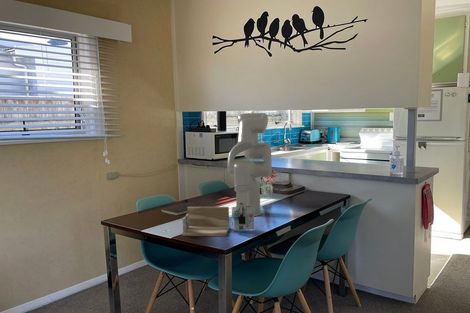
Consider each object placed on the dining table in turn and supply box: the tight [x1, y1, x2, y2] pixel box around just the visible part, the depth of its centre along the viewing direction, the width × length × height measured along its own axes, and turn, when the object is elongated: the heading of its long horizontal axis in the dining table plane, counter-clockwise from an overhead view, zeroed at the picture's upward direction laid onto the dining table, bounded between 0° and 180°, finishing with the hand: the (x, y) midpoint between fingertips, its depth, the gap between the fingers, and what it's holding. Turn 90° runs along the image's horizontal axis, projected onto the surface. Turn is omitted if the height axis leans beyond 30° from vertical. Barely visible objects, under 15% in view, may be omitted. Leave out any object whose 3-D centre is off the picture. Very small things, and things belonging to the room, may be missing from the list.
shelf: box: [181, 206, 230, 237], centre depth 212 cm, size 14×22×12 cm, turn 83°
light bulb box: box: [231, 206, 255, 231], centre depth 210 cm, size 11×7×11 cm, turn 100°
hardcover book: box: [160, 202, 206, 216], centre depth 261 cm, size 16×23×2 cm
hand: (243, 221), depth 210 cm, fingers closed on light bulb box, 8 cm apart
